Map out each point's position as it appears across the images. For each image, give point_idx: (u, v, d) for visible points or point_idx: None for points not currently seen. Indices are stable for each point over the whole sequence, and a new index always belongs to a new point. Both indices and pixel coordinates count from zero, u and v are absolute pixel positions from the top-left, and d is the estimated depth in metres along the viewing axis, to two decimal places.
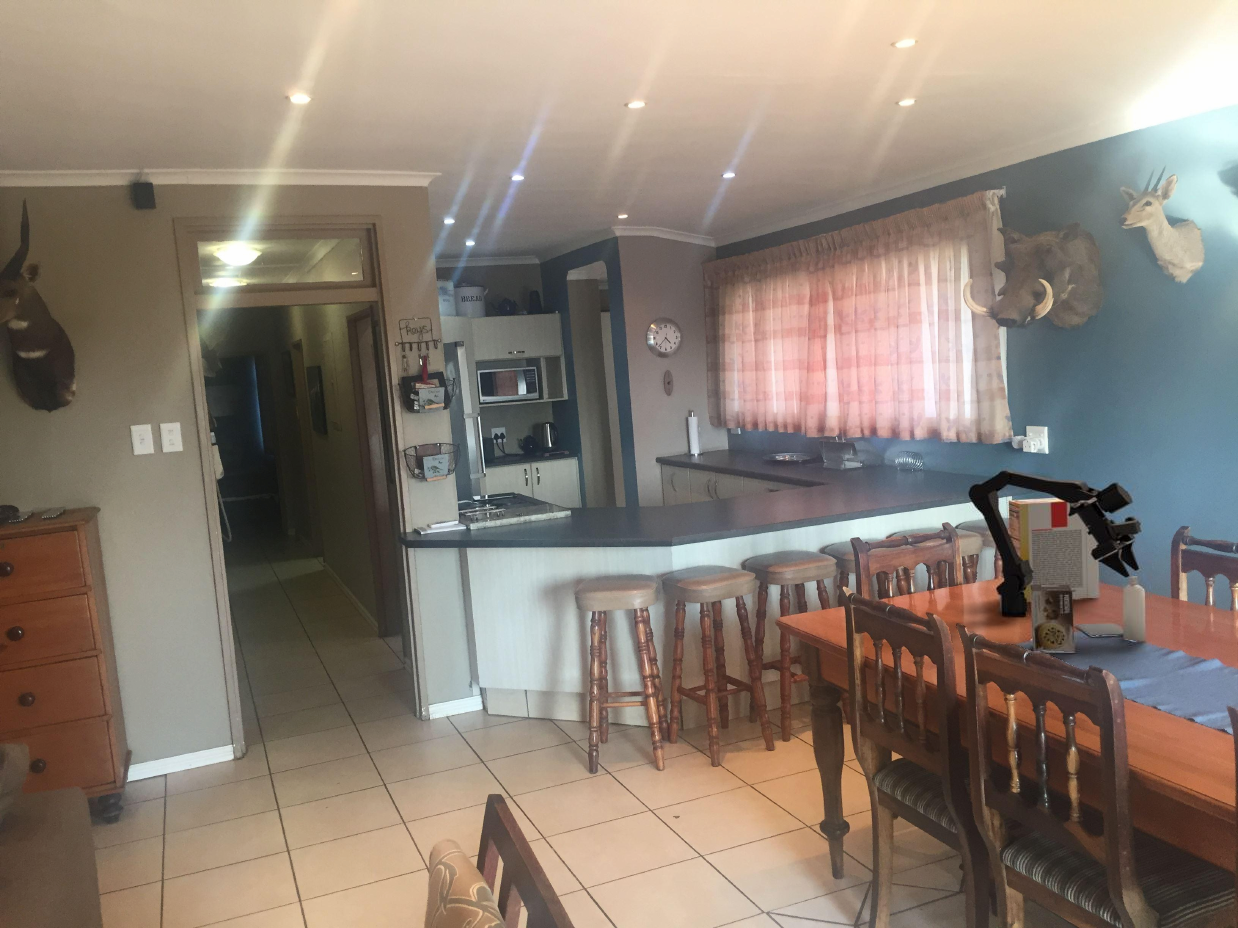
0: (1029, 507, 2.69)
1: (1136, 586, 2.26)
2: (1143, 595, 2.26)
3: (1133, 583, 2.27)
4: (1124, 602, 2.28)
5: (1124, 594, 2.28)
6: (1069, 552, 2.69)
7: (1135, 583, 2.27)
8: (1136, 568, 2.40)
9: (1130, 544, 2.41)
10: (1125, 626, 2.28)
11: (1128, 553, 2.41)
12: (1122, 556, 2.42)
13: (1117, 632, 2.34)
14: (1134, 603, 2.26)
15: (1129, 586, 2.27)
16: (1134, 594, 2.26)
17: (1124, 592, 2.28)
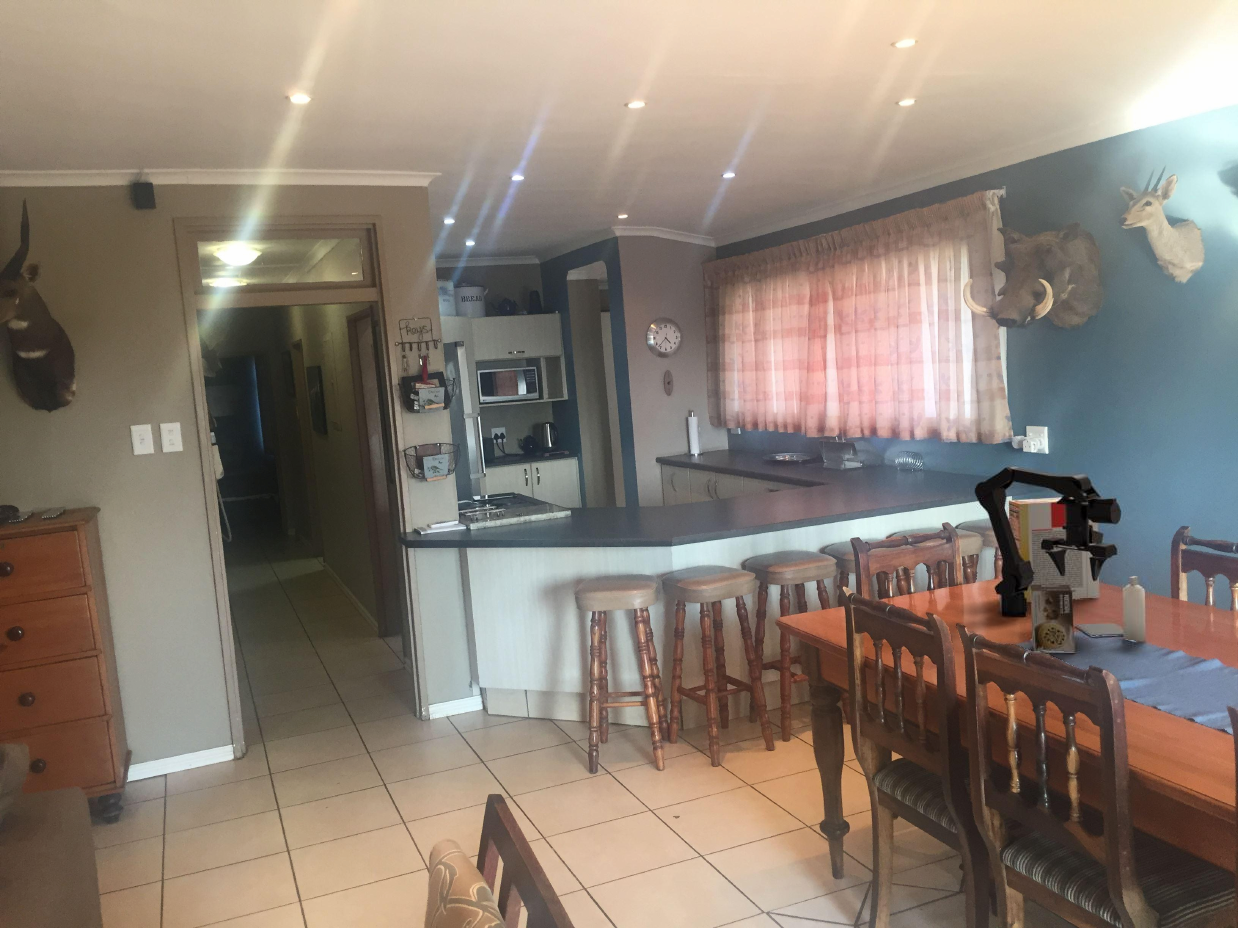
0: (1029, 507, 2.69)
1: (1136, 586, 2.26)
2: (1143, 595, 2.26)
3: (1133, 583, 2.27)
4: (1124, 602, 2.28)
5: (1124, 594, 2.28)
6: (1069, 552, 2.69)
7: (1135, 583, 2.27)
8: (1063, 574, 2.47)
9: (1065, 551, 2.48)
10: (1125, 626, 2.28)
11: (1062, 558, 2.47)
12: (1058, 559, 2.46)
13: (1117, 632, 2.34)
14: (1134, 603, 2.26)
15: (1129, 586, 2.27)
16: (1134, 594, 2.26)
17: (1124, 592, 2.28)
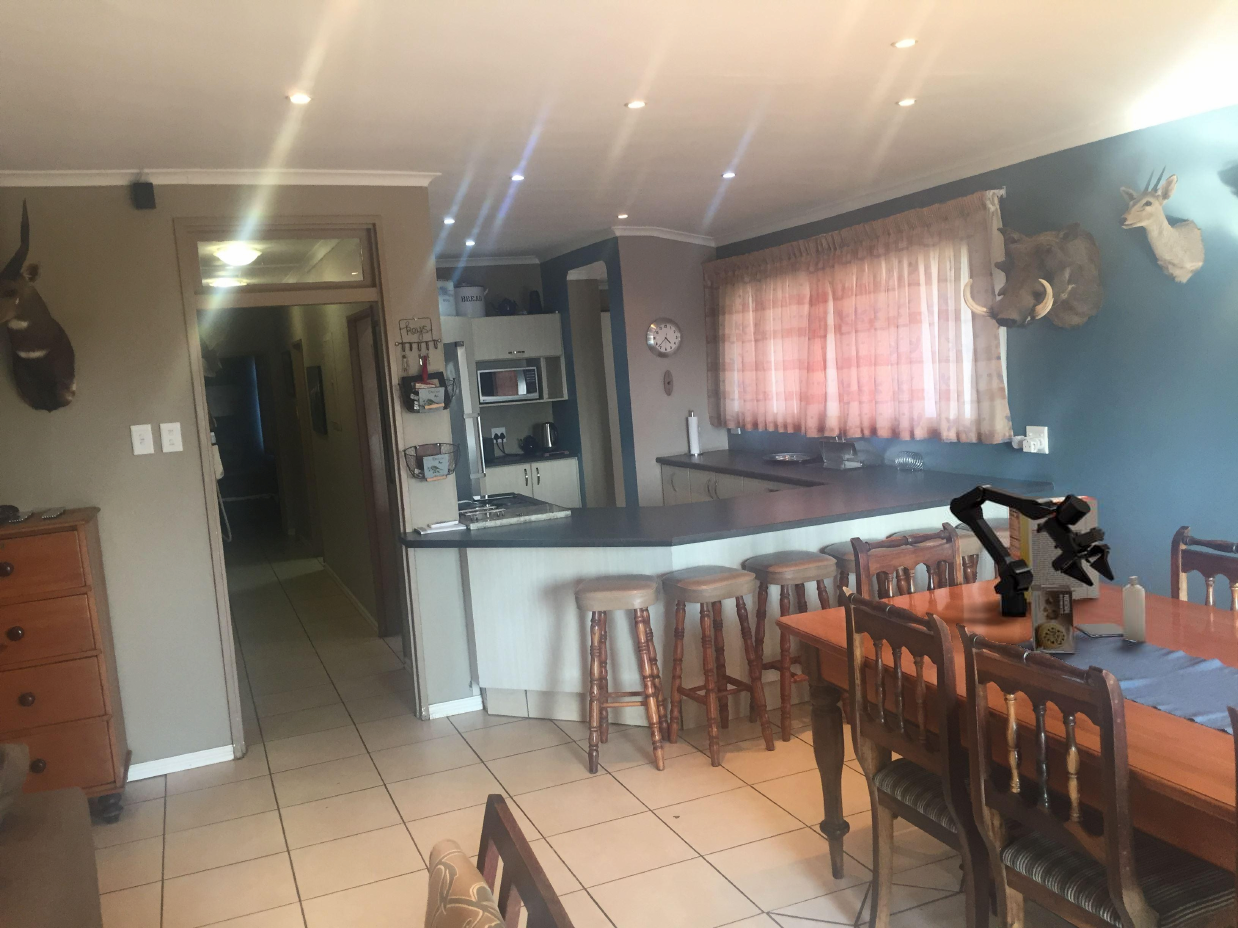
0: None
1: (1136, 586, 2.26)
2: (1143, 595, 2.26)
3: (1133, 583, 2.27)
4: (1124, 602, 2.28)
5: (1124, 594, 2.28)
6: None
7: (1135, 583, 2.27)
8: (1111, 578, 2.37)
9: (1102, 555, 2.39)
10: (1125, 626, 2.28)
11: (1102, 564, 2.39)
12: (1098, 568, 2.41)
13: (1117, 632, 2.34)
14: (1134, 603, 2.26)
15: (1129, 586, 2.27)
16: (1134, 594, 2.26)
17: (1124, 592, 2.28)
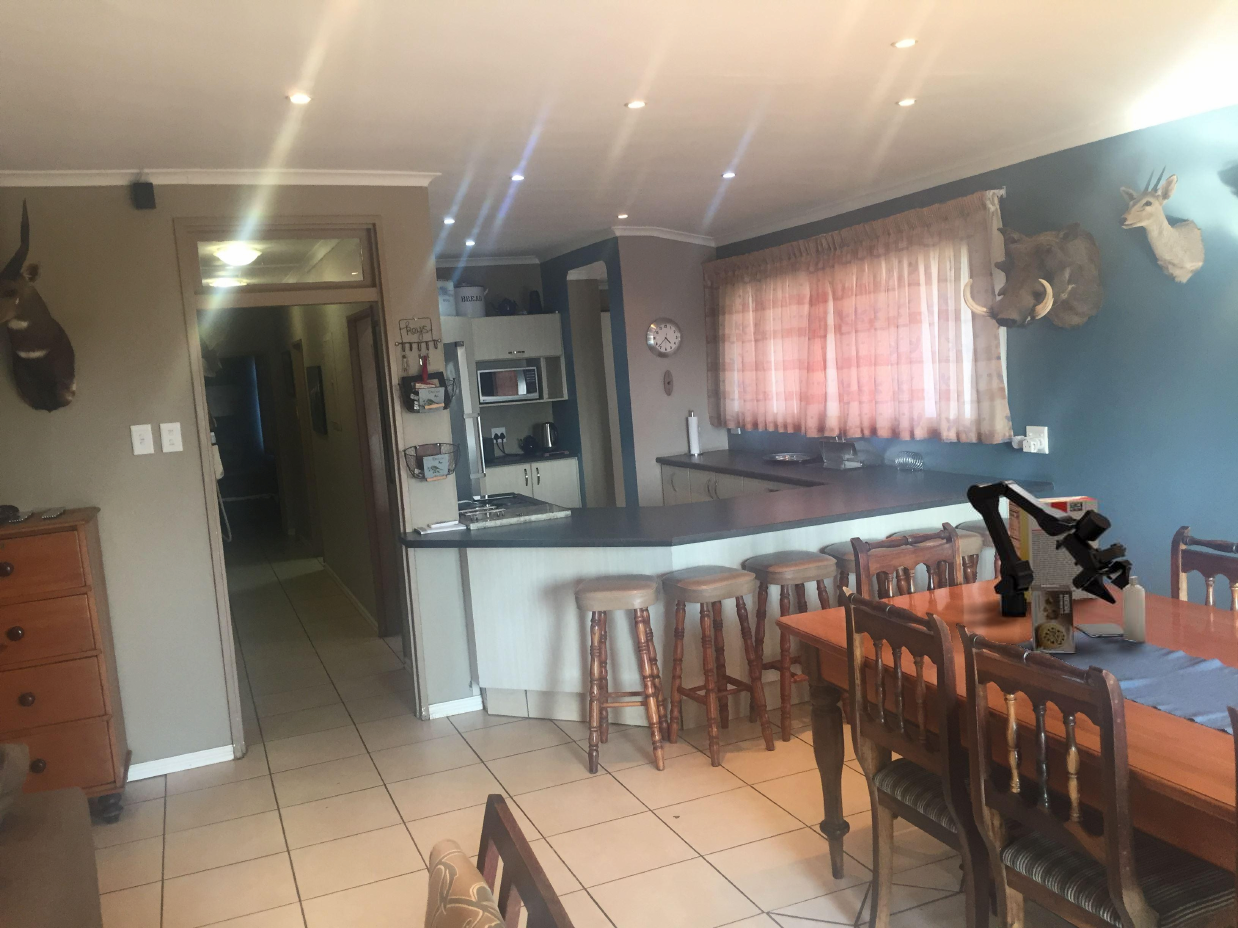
0: None
1: (1136, 586, 2.26)
2: (1143, 595, 2.26)
3: (1133, 583, 2.27)
4: (1124, 602, 2.28)
5: (1124, 594, 2.28)
6: None
7: (1135, 583, 2.27)
8: None
9: (1124, 571, 2.35)
10: (1125, 626, 2.28)
11: (1124, 581, 2.35)
12: (1119, 584, 2.36)
13: (1117, 632, 2.34)
14: (1134, 603, 2.26)
15: (1129, 586, 2.27)
16: (1134, 594, 2.26)
17: (1124, 592, 2.28)
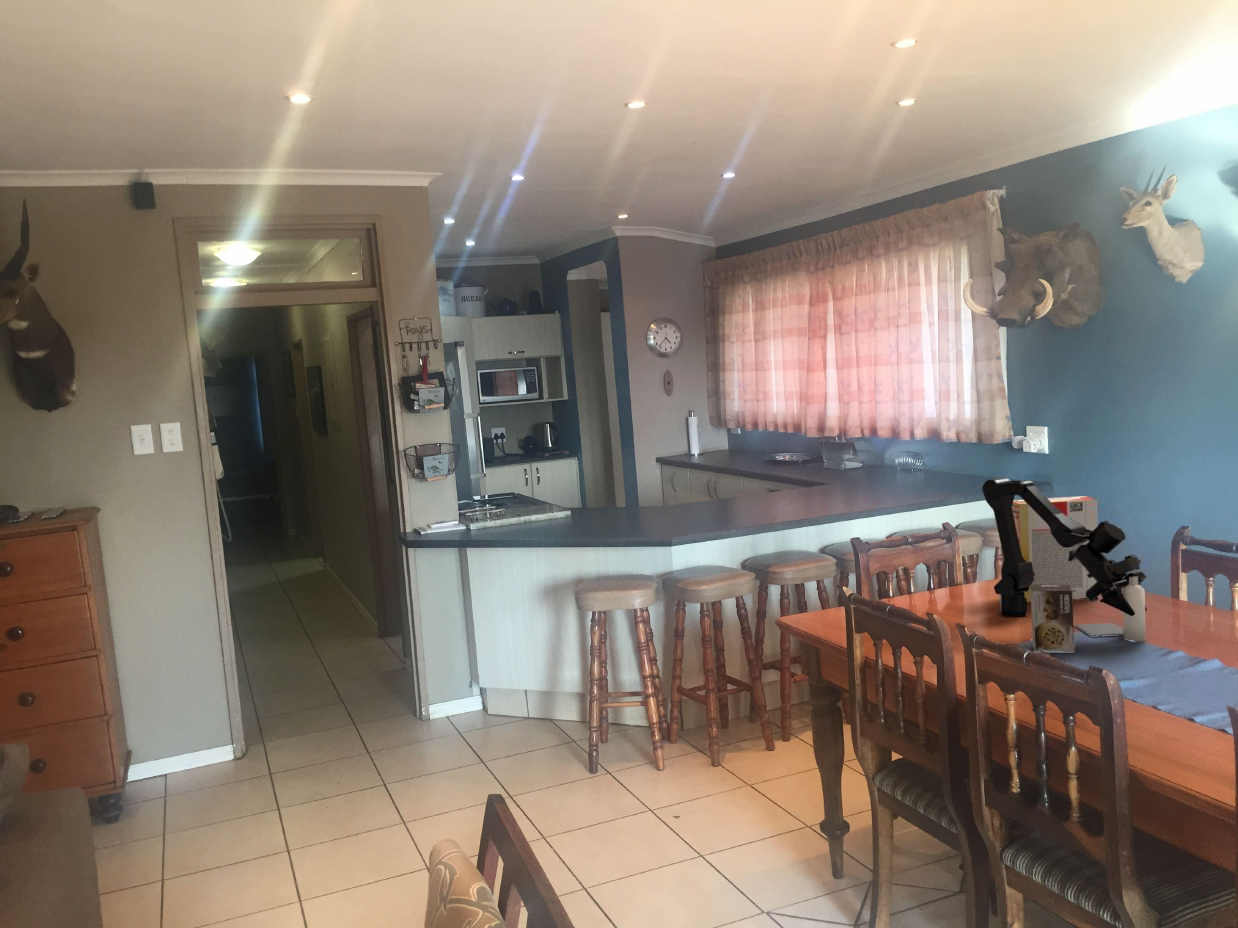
0: (1029, 507, 2.69)
1: (1136, 586, 2.26)
2: (1143, 595, 2.26)
3: (1133, 583, 2.27)
4: None
5: (1124, 594, 2.28)
6: None
7: (1135, 583, 2.27)
8: None
9: None
10: (1125, 626, 2.28)
11: None
12: None
13: (1117, 632, 2.34)
14: (1134, 603, 2.26)
15: (1129, 586, 2.27)
16: (1134, 593, 2.26)
17: (1124, 592, 2.28)
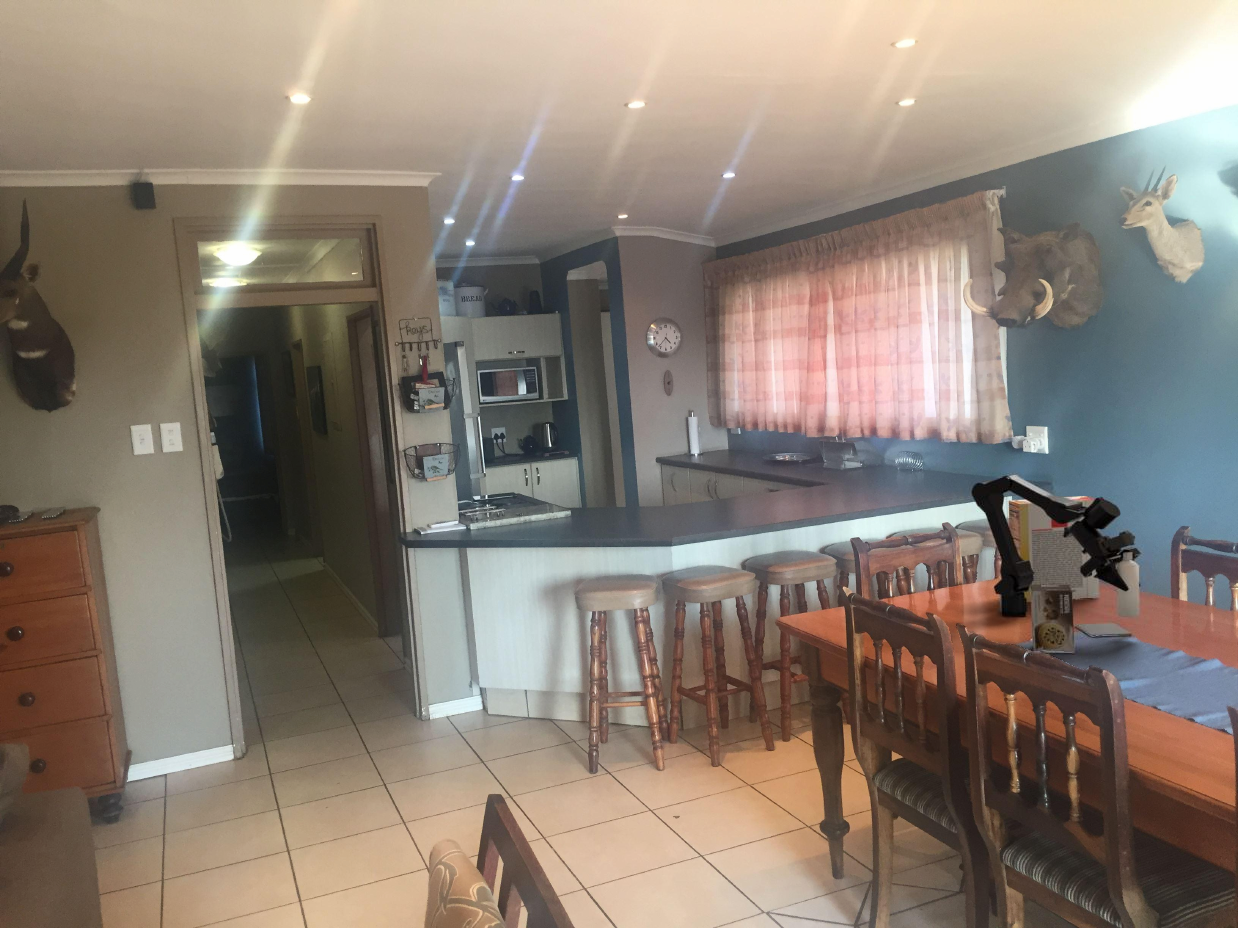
0: (1029, 507, 2.69)
1: (1130, 562, 2.27)
2: (1137, 571, 2.27)
3: (1127, 559, 2.28)
4: None
5: (1118, 570, 2.29)
6: (1069, 552, 2.69)
7: (1129, 559, 2.28)
8: None
9: None
10: (1119, 602, 2.29)
11: None
12: None
13: (1117, 632, 2.34)
14: (1128, 578, 2.27)
15: (1123, 561, 2.28)
16: (1128, 569, 2.27)
17: (1118, 568, 2.29)
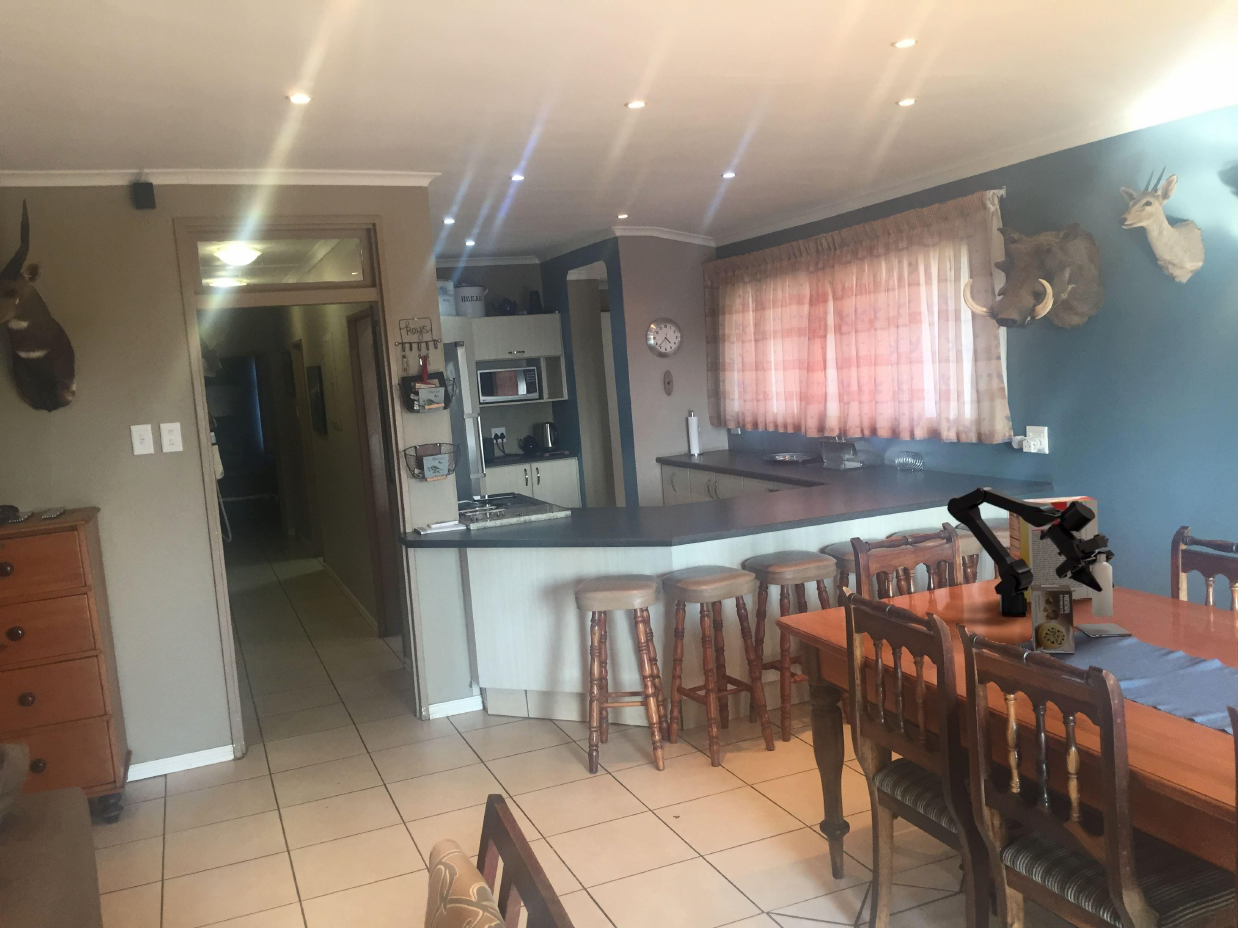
0: None
1: (1104, 563, 2.35)
2: (1110, 572, 2.34)
3: (1101, 560, 2.35)
4: None
5: (1092, 571, 2.36)
6: None
7: (1103, 560, 2.35)
8: None
9: None
10: (1093, 602, 2.37)
11: None
12: None
13: (1117, 632, 2.34)
14: (1102, 579, 2.34)
15: (1097, 563, 2.36)
16: (1101, 570, 2.34)
17: (1092, 569, 2.36)
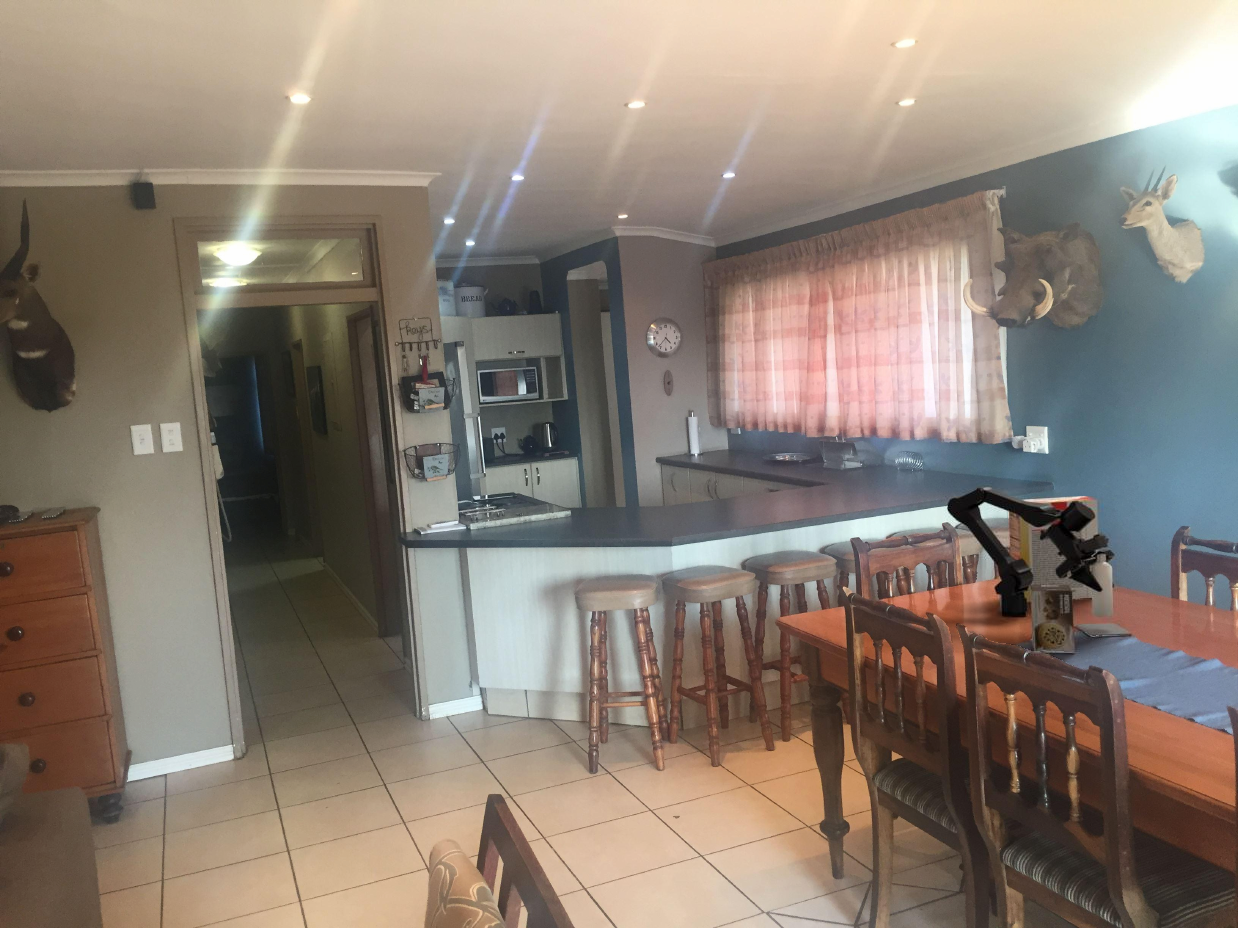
0: None
1: (1104, 563, 2.35)
2: (1110, 572, 2.34)
3: (1101, 560, 2.35)
4: None
5: (1092, 571, 2.36)
6: None
7: (1103, 560, 2.35)
8: None
9: None
10: (1093, 602, 2.37)
11: None
12: None
13: (1117, 632, 2.34)
14: (1102, 579, 2.34)
15: (1097, 563, 2.36)
16: (1101, 570, 2.34)
17: (1092, 569, 2.36)
